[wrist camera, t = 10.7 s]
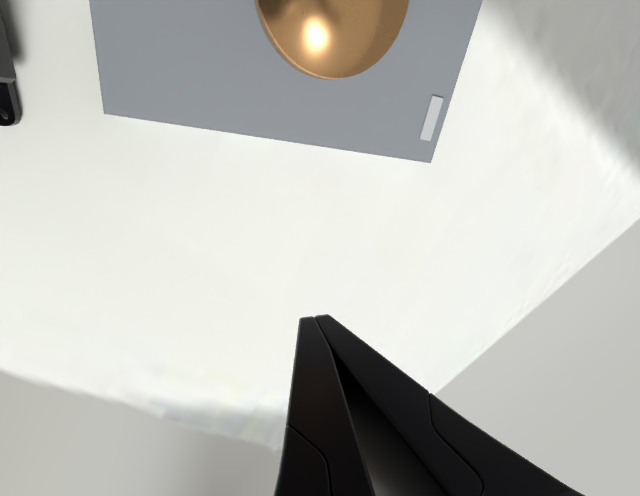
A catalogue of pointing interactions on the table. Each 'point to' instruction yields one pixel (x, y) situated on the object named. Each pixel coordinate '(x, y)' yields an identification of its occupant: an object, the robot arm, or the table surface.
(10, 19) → the table surface
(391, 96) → the base
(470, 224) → the table surface
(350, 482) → the robot arm
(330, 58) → the crank handle
